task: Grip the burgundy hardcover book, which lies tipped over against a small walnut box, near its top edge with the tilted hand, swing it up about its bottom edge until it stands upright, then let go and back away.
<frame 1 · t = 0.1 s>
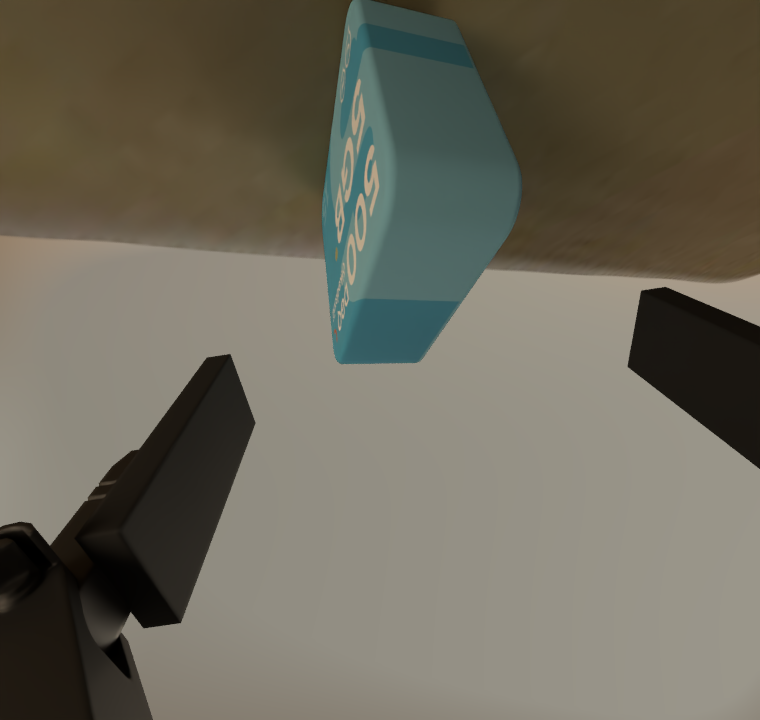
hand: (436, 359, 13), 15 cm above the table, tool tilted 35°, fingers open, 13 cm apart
data package: (371, 128, 22), on the table
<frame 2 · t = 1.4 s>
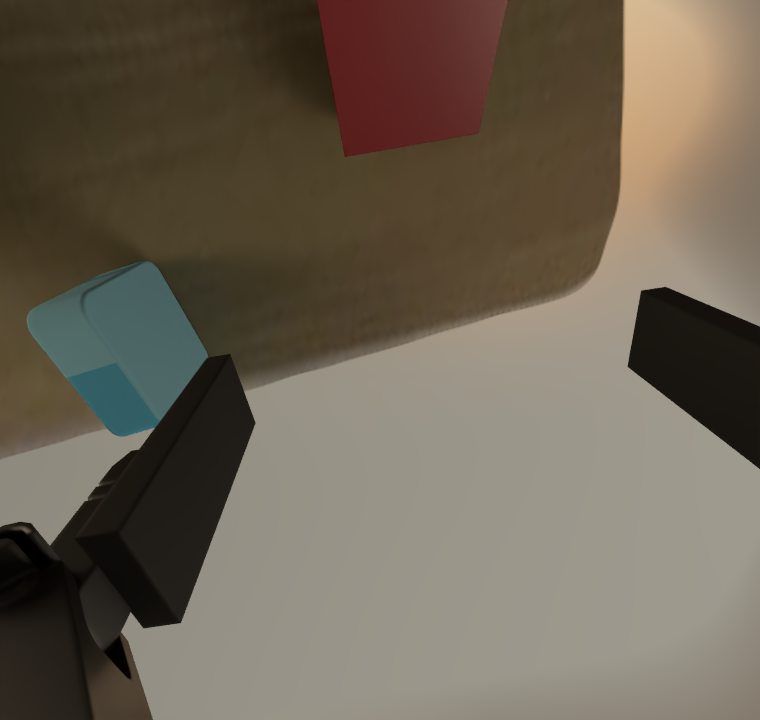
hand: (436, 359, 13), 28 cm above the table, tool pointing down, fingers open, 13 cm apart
data package: (165, 318, 40), on the table
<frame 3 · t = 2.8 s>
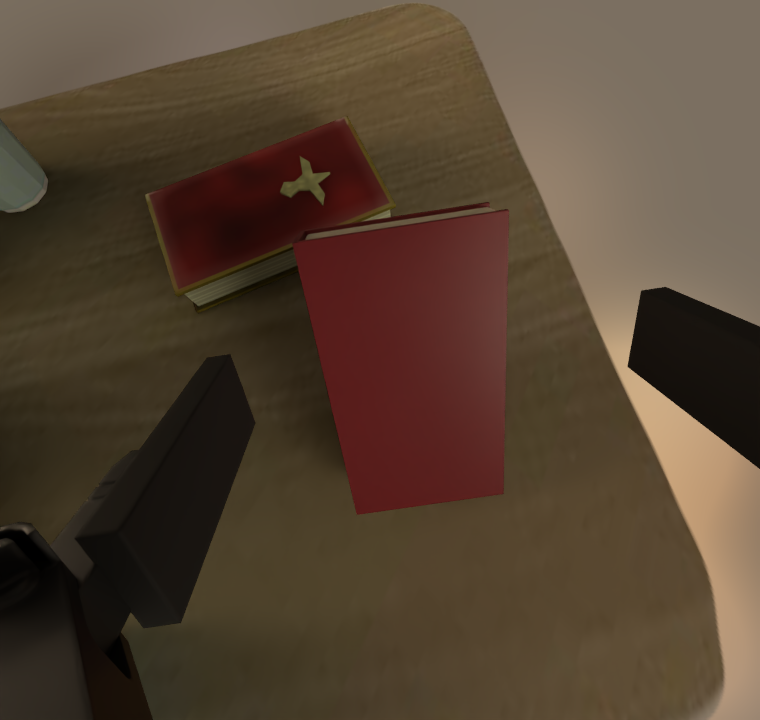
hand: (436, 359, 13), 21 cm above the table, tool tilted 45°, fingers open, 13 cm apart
disposable coffee cup: (25, 189, 43), on the table
book: (414, 378, 26), point 9 cm above the table, hinge at 45.0°
hardcover book: (279, 225, 40), on the table
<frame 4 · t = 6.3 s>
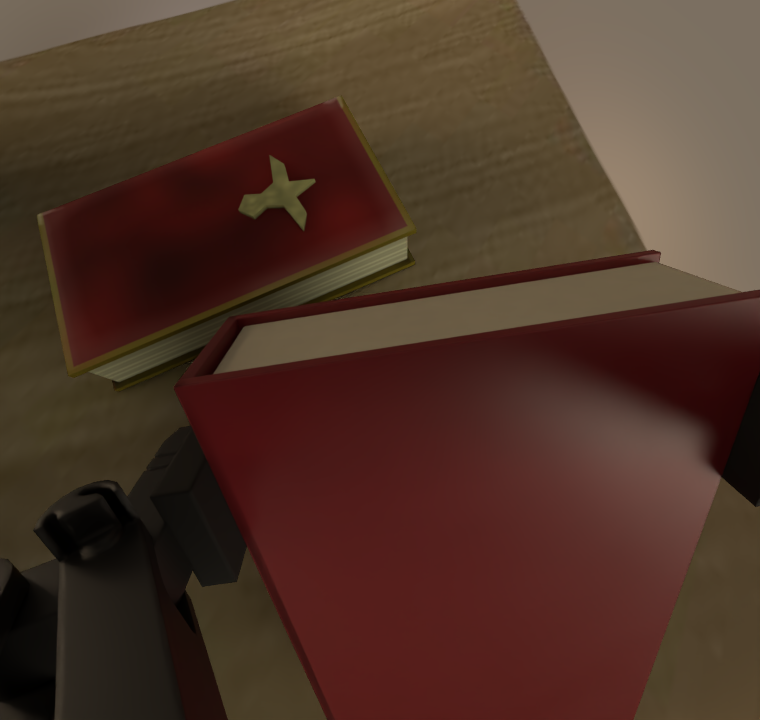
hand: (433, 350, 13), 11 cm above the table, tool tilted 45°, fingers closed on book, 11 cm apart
book: (470, 585, 13), point 9 cm above the table, hinge at 45.0°, touching gripper
hardcover book: (244, 256, 28), on the table
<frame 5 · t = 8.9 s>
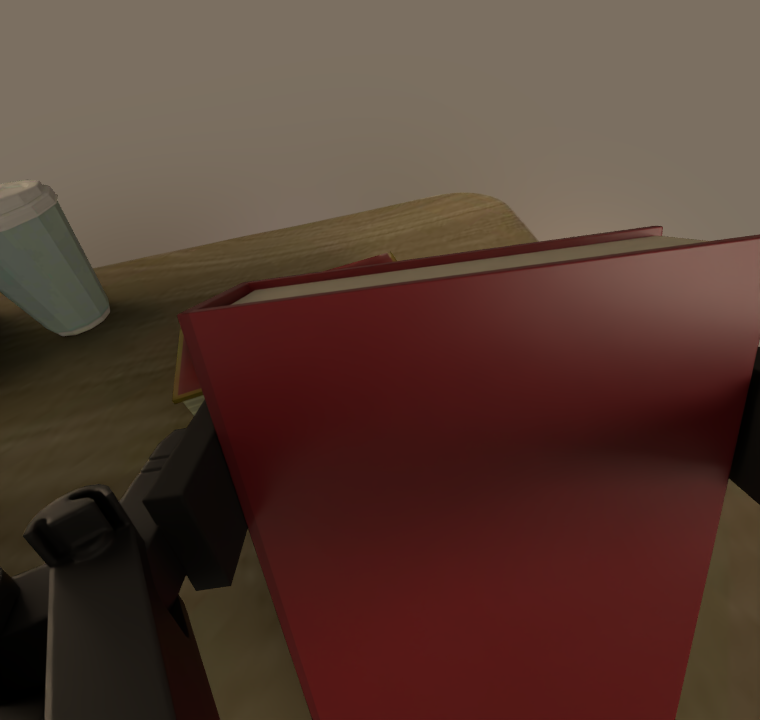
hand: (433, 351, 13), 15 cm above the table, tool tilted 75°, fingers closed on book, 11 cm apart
disposable coffee cup: (87, 319, 46), on the table
book: (472, 584, 12), point 10 cm above the table, hinge at 66.0°, touching gripper
hardcover book: (310, 347, 37), on the table
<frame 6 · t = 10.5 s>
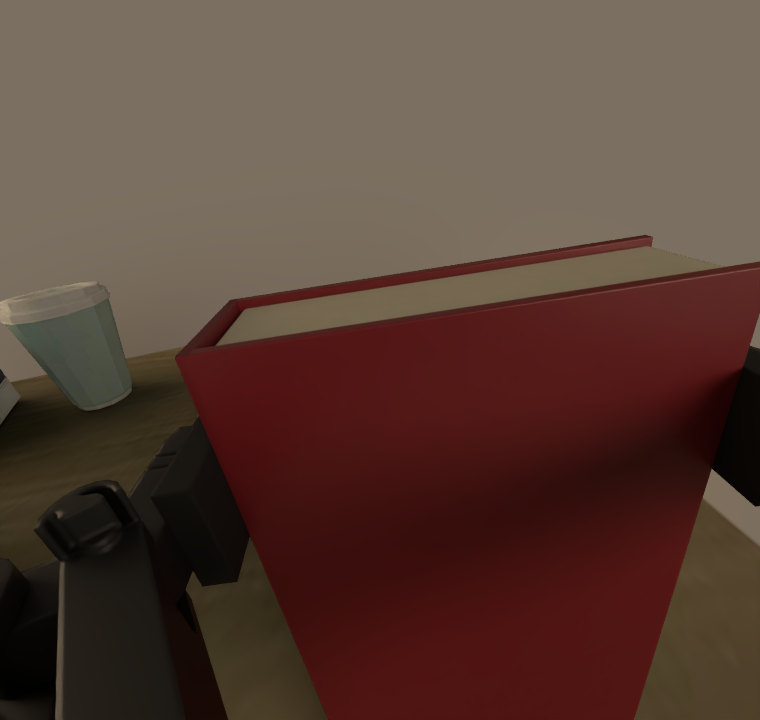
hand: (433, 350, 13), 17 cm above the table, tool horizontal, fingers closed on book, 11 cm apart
disposable coffee cup: (110, 398, 52), on the table
book: (468, 574, 13), point 10 cm above the table, hinge at 88.6°, touching gripper
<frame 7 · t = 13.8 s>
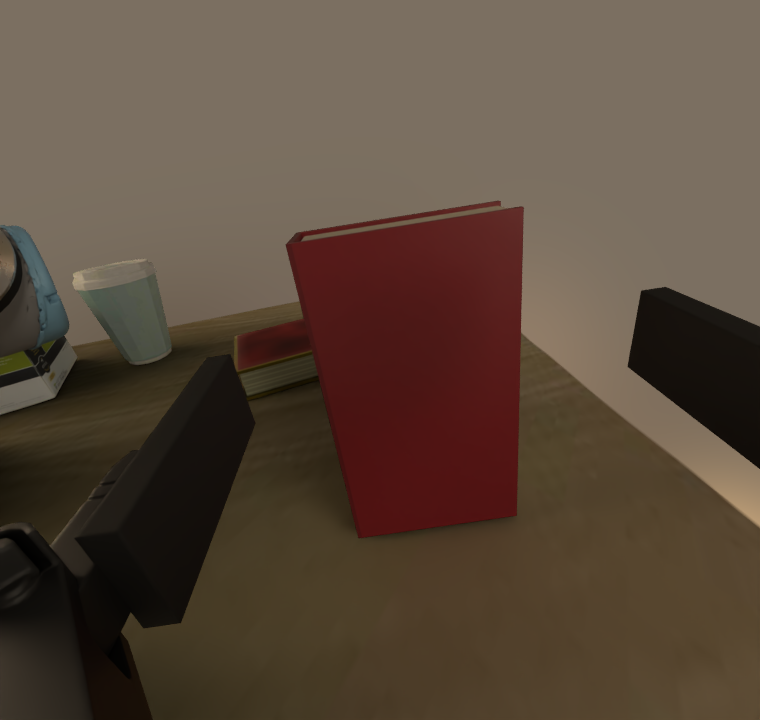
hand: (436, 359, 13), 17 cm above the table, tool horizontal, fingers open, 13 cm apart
disposable coffee cup: (154, 356, 62), on the table
book: (419, 391, 24), point 10 cm above the table, hinge at 88.7°
tea box: (32, 389, 58), on the table
hardcover book: (322, 358, 53), on the table
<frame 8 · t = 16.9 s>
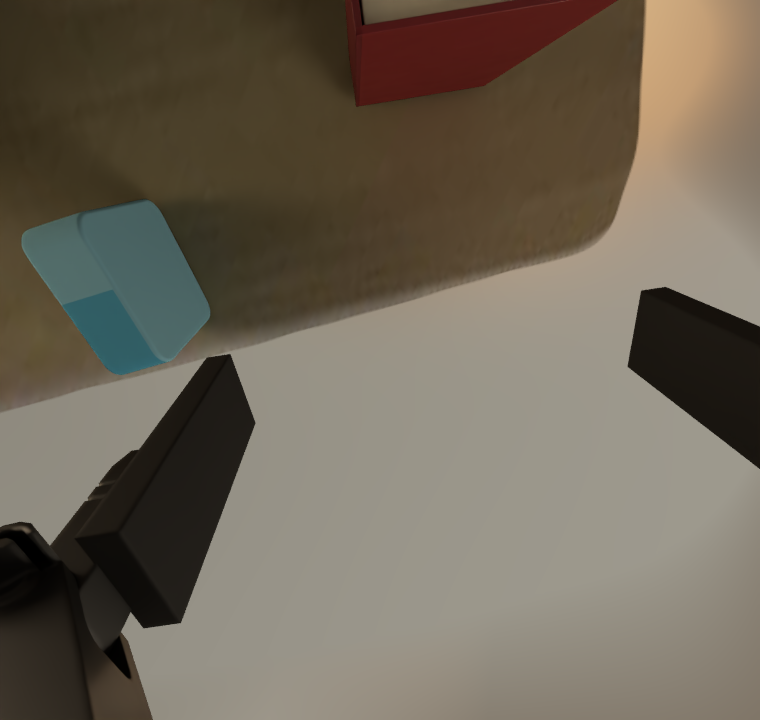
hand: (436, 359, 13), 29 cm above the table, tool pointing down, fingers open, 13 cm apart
data package: (166, 265, 39), on the table
book: (441, 34, 23), point 10 cm above the table, hinge at 88.7°
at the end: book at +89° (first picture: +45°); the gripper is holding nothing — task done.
